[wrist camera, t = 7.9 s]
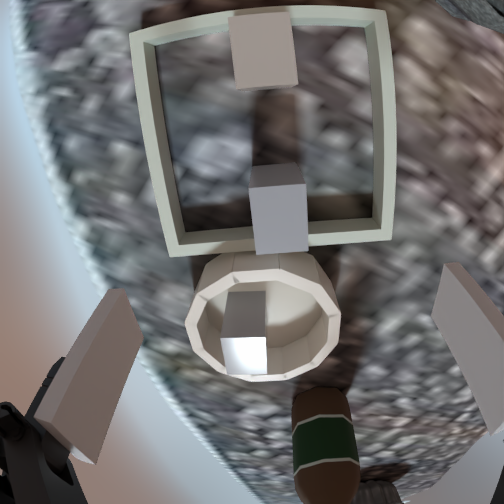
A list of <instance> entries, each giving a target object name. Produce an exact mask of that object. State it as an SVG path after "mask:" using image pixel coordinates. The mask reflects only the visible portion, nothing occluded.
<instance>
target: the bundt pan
mask: <svg viewBox="0 0 504 504" xmlns="http://www.w3.org/2000/svg"><path fill="white" fill-rule="evenodd" d="M350 504H404V503H402V501H401V499H400V496H399V494H398V492H397V489H396V487H395V486H394V485H393V484H392V483H390V482H386V481H382V480H378V481H374V480H368V481H366V482H365V483H363V482H360V483H359V487H358V491H357V493H356V495H355V496H354V498H353V500H352V501H351V503H350Z"/></svg>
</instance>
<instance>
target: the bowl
mask: <svg viewBox="0 0 504 504" xmlns="http://www.w3.org/2000/svg"><path fill="white" fill-rule="evenodd" d="M243 291H266V310H267V374H255V375H230V376H233V377H237V378H240V379H244V380H247V381H250V382H251V381H252V382H258V381H278V380H286V379H287V380H288V379H290V378H292V377H295V376H297V375H300V374H302V373H304V372H306V371H309V370H311V369H313V368H315V367H317V366H319V365H320V363H321V362H322V361H323V360H324V359H325V358H326V357H327V355H328V354H329V353H330V352H331V351H332V350H333V348H334V347H335V346H336V345H337V344H338V340H339V330H340V320H341V312H340V308H339V305H338V302H337V298H336V295H335V292H334V289H333V285H332V282H331V281H330V279H329V278H328V276H327V275H326V273H325V272H324V271H323V269H322V268H321V266H320V265H319V263H318V262H317V260H316V259H315V258H314V256H313V255H310V254H308V253H306V252H303V251H301V252H288V253H275V254H262V255H256V250H254V251H242V252H229V253H222V254H220V255H219V256H217V257H216V258H214V259H213V260H211V261H210V262H208V263H207V264H206V265H205V267H204V270H203V272H202V275H201V277H200V279H199V282H198V284H197V287H196V289H195V292H194V295H193V298H192V301H191V304H190V307H189V310H188V314H187V317H186V320H185V326H186V329H187V333H188V336H189V339H190V342H191V345H192V348H193V351H194V352H195V353H196V354H198V355H199V356H200V357H201V358H202V359H203V360H205V361H206V362H207V363H208V364H209V365H211V366H212V367H213V368H214V369H215V370H217V371H219V372H221V373H224V374H227V371H226V366H225V360H224V355H223V350H222V345H221V339H220V336H221V330H222V324H223V318H224V313H225V307H226V301H227V295H228V292H243Z"/></svg>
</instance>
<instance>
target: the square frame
mask: <svg viewBox="0 0 504 504" xmlns="http://www.w3.org/2000/svg"><path fill="white" fill-rule="evenodd" d="M275 12H290V20H291V26H295V25H332V26H353V27H364V28H365V36H366V43H367V52H368V61H369V71H370V83H371V97H372V115H373V156H374V167H373V208H372V218H358V219H342V220H327V221H313V222H308V246H319V245H331V244H344V243H357V242H370V241H383V240H391V239H392V228H393V217H394V203H395V185H396V103H395V86H394V73H393V62H392V52H391V44H390V36H389V29H388V22H387V16H386V11H384V10H377V9H368V8H358V7H345V6H322V5H295V6H272V7H258V8H248V9H239V10H231V11H224V12H217V13H211V14H206V15H200V16H195V17H190V18H185V19H181V20H176V21H172V22H168V23H164V24H160V25H156V26H153V27H149V28H146V29H142V30H139V31H136V32H132V33H129V38H130V47H131V57H132V65H133V73H134V81H135V88H136V95H137V102H138V108H139V114H140V121H141V127H142V132H143V138H144V144H145V149H146V154H147V159H148V165H149V170H150V174H151V179H152V184H153V189H154V193H155V198H156V202H157V207H158V211H159V215H160V220H161V224H162V228H163V232H164V236H165V240H166V244H167V248H168V252H169V256H170V257H178V256H191V255H204V254H216V253H229V252H242V251H254V250H256V249H255V240H254V232H253V226H250V227H238V228H227V229H216V230H205V231H195V232H185V228H184V223H183V218H182V214H181V209H180V204H179V199H178V194H177V189H176V184H175V178H174V173H173V168H172V162H171V156H170V151H169V145H168V139H167V133H166V127H165V121H164V114H163V108H162V101H161V94H160V87H159V80H158V72H157V64H156V56H155V47H154V46H156V45H160V44H164V43H168V42H172V41H177V40H181V39H186V38H191V37H196V36H201V35H207V34H213V33H219V32H226V31H229V25H228V17H233V16H241V15H250V14H261V13H275Z"/></svg>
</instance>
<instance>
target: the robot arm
mask: <svg viewBox="0 0 504 504" xmlns="http://www.w3.org/2000/svg"><path fill="white" fill-rule="evenodd" d="M431 317H432V319H433V320H434V322H435V324H436V326H437V327H438V329H439V331H440V332H441V334H442V336H443V338H444V340H445V341H446V343H447V345H448V347H449V349H450V350H451V352H452V354H453V356H454V358H455V360H456V362H457V364H458V366H459V368H460V370H461V371H462V373H463V375H464V377H465V379H466V381H467V384H468V386H469V388H470V390H471V392H472V394H473V396H474V398H475V400H476V403H477V405H478V407H479V409H480V412H481V414H482V416H483V418H484V421H485V423H486V425H487V428H488V430H489V432H490V435H494V434H496V433H498V432H500V431H502V430H504V316H503V315H502V313H501V312H500V311H499V310H498V308H497V307H496V306H495V305H494V303H493V302H492V301H491V300H490V298H489V297H488V296H487V295H486V293H485V292H484V291H483V290H482V289H481V287H480V286H479V285H478V284H477V283H476V282H475V280H474V279H473V278H472V277H471V276H470V275H469V273H468V272H467V271H466V270H465V269H464V268H463V267H462V266H461V265H460V263H459V262H455V263H446V264H444V267H443V271H442V276H441V280H440V284H439V288H438V292H437V296H436V299H435V303H434V307H433V310H432V314H431ZM143 339H144V337H143V334H142V332H141V330H140V327H139V325H138V323H137V320H136V318H135V315H134V313H133V310H132V308H131V305H130V303H129V300H128V298H127V295H126V293H125V290H124V289H109V290H108V291H107V293H106V294H105V296H104V297H103V299H102V300H101V302H100V303H99V305H98V306H97V308H96V309H95V311H94V312H93V314H92V316H91V317H90V319H89V320H88V322H87V323H86V325H85V326H84V328H83V330H82V331H81V333H80V334H79V336H78V338H77V339H76V341H75V343H74V344H73V346H72V348H71V349H70V351H69V353H68V354H67V356H66V357H61V358H60V359H59V360H58V361H57V362H56V363H55V364H54V365H53V366H52V368H51V369H50V371H49V373H48V375H47V378H45V380H44V381H43V383H42V387H40V389H39V391H38V392H37V394H36V396H35V398H34V400H33V402H32V403H31V405H30V407H29V409H28V411H27V413H26V415H25V416H23V415H22V414H21V413H20V412H19V411H18V410H17V409H16V408H15V406H13V405H12V404H11V403H10V402H2V403H0V468H1V469H2V470H3V472H2V476H1V475H0V504H88V503H87V500H86V498H85V496H84V493H83V491H82V489H81V486H80V484H79V481H78V479H77V476H76V473H75V471H74V468H73V465H72V463H71V461H70V460H69V459H68V456H69V453H71V454H73V455H74V456H75V457H76V458H77V459H79V460H81V461H84V462H88V463H91V464H95V465H96V463H97V460H98V457H99V454H100V451H101V448H102V445H103V442H104V439H105V437H106V434H107V431H108V428H109V425H110V422H111V420H112V417H113V414H114V412H115V409H116V406H117V404H118V401H119V398H120V396H121V393H122V390H123V388H124V385H125V383H126V380H127V377H128V375H129V373H130V370H131V367H132V365H133V362H134V360H135V358H136V355H137V353H138V350H139V348H140V346H141V343H142V341H143ZM503 442H504V440H503ZM490 504H504V466H503V470H502V473H501V476H500V479H499V482H498V484H497V487H496V490H495V493H494V495H493V498H492V500H491V503H490Z"/></svg>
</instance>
